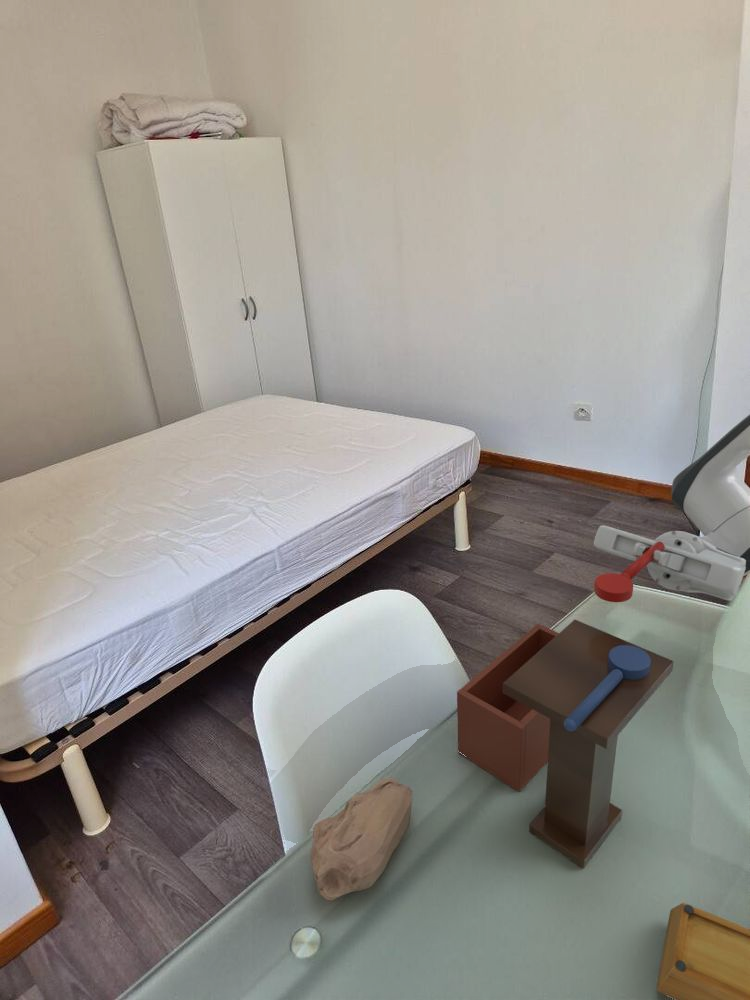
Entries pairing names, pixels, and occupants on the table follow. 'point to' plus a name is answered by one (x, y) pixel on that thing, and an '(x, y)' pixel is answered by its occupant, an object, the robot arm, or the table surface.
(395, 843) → the rock
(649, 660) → the blue spoon
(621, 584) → the red spoon
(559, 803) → the shelf stand
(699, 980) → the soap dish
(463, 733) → the bin
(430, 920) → the table surface
